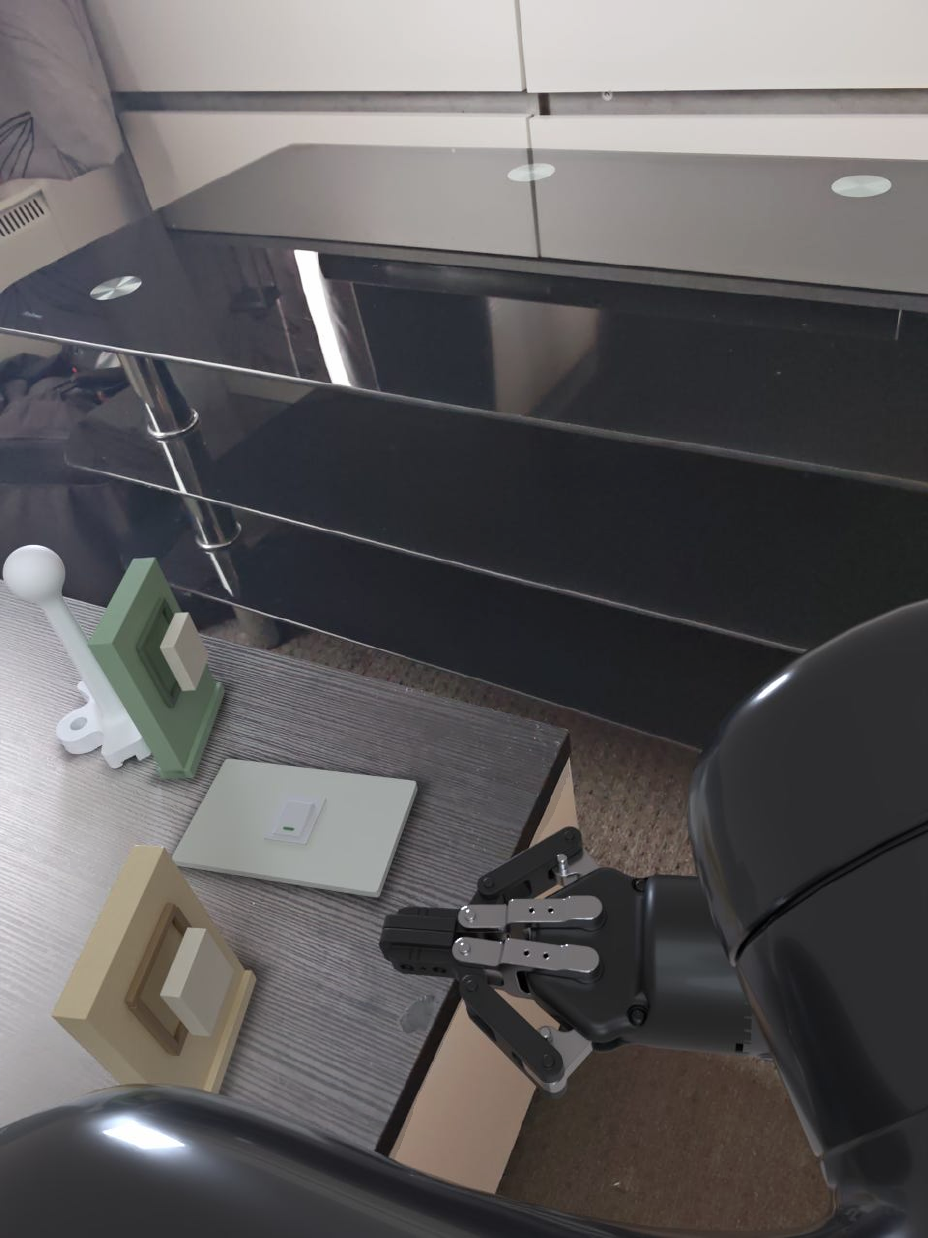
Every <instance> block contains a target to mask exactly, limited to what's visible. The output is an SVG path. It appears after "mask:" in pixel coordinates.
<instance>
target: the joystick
mask: <svg viewBox="0 0 928 1238" xmlns="http://www.w3.org/2000/svg"><path fill="white" fill-rule="evenodd" d="M2 579H3V582H4V584H5V587H6V588H7V590H8V591H9V592H10V593H11V595H14V596H15V597H16V598H18V599H20V600H23V601H25V602H30V603H32V604H35V605H36V606H38V607H39V609H40V610H41V611H42V613H43V614H44V616H45V618H46V619H47V621H48V623H49V625H50V626H51V628H52V630H53V632H54V633H55V635H56V637H57V639H58V640H59V642H60V643H61V645H62V647H63V649H64V651H65V652H66V655H67V656H68V657H69V659H70V661H71V663H72V665H73V666H74V668H75V670H76V671H77V673H78V675H79V676H80V678H81V680H80V681H79V682H78V683H77V685H76V688H77V689H78V691H79V693H80V694H81V696H82V697H83V699H84V701H85V702H86V704H85V705H83V706H82V707H81V706H80V707H79V708H76V709H73V710H71V711H69V712H68V713H67V714H66V715H64V717H62V718H61V719H60V720H59V722H58V724H57V725H56V729H55V735H56V737H57V738H58V739H59V741H60V743H61V744H62V746H63V747H64V748H65V750H66V751H67V752H68V753H70V754H73V755H82V754H87V753H90V752H92V751H94V750H96V749H98V747H100V746H101V749H100V750H101V751H100V753H101V755H102V756H103V758H104V760H105V761H106V763H107V765H109V767H110V768H111V769H118V768H120V767H123V765H124V761H126V760H128V759H130V758H132V757H134V756H136V758H137V760H138V762H139V761H142V760H144V759H145V758H147V757H149V756H151V754H152V753H151V751H150V749H149V748H148V746H147V744H146V743H145V741H144V739H143V738H142V736H141V734H140V733H139V731H138V729H137V728H136V726H135V724H134V723H133V721H132V719H131V718H130V716H129V714H128V713H127V711H126V709H125V708H124V706H123V704H122V703H121V701H120V699H119V698H118V696H117V694H116V693H115V691H114V689H113V687H112V686H111V684H110V682H109V681H108V679H107V677H106V676H105V674H104V672H103V671H102V669H101V667H100V666H99V664H98V662H97V661H96V659H95V657H94V656H93V654H92V652H91V651H90V649H89V647H88V646H87V644H88V642H89V640H90V638H89V636H88V634H87V633H86V631H85V630H84V628H83V626H82V625H81V623H80V622H79V620H78V618H77V617H76V615H75V614H74V612H73V610H72V609H71V607H70V606H69V604H68V603H67V601H66V599H65V598H64V596H63V591H62V590H63V586H64V584H65V580H66V568H65V564H64V562H63V560H62V558H60V556H59V555H58V554H57V553H56V552H55V551H53V550H52V549H51V548H49V547H46V546H43V545H38V544H29V545H24V546H21V547H19V548H17V549H15V550H14V551H13V552H11V553H10V554H9V555H8V557H7V558H6V559H5V562H4V564H3V566H2Z"/></svg>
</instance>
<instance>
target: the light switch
mask: <svg viewBox="0 0 928 1238" xmlns="http://www.w3.org/2000/svg"><path fill="white" fill-rule="evenodd" d="M418 790H419V789H418V784H417V782H416V780H411V779H402V778H396V777H395V778H394V777H386V776H379V775H370V774H362V773H354V772H343V771H336V770H328V769H321V768H320V769H319V768H311V767H303V766H294V765H285V764H278V763H270V762H260V761H253V760H245V759H244V760H243V759H237V758H226V759H225V760H224V761H223V763H222V764H221V767H220V769H219V770H218V772H217V774H216V776H215V778H214V780H213V781H212V783H211V784H210V786H209V789H208V790H207V792H206V793H205V796H204V798H203V799H202V801H201V803H200V805H199V806H198V808H197V810H196V812H195V814H194V816H193V817H192V818H191V821H190V823H189V824H188V826H187V828H186V830H185V832H184V833H183V835H182V837H181V839H180V841H179V843H178V844H177V847H176V848H175V849H174V851H173V853H172V855H171V857H172V859H173V861H174V862H175V864H176V865H177V867H183V868H189V869H195V870H201V871H209V872H214V873H221V874H226V875H233V876H238V877H239V876H240V877H246V878H250V879H251V878H252V879H258V880H264V881H271V882H276V883H282V884H289V885H295V886H300V887H308V888H313V889H319V890H320V889H321V890H326V891H332V892H339V893H345V894H351V895H356V896H363V897H369V898H379V897H380V895H381V894H382V891H383V889H384V886H385V882H386V880H387V878H388V875H389V871H390V869H391V865H392V863H393V860H394V858H395V854H396V851H397V849H398V846H399V843H400V841H401V837H402V835H403V832H404V829H405V826H406V823H407V821H408V819H409V815H410V812H411V810H412V807H413V804H414V801H415V798H416V796H417V793H418Z"/></svg>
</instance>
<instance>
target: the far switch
mask: <svg viewBox="0 0 928 1238" xmlns="http://www.w3.org/2000/svg"><path fill="white" fill-rule="evenodd" d="M160 649H161V651H162V653H163V655H164V657H165V659H166V661H167V663H168V664H169V666H170V668H171V670H172V672H173V674H174V676H175V678H176V680H177V682H178V683H179V685H180V687H181V689H182V691H191V690H196V688H197V686H198V683H199V681H200V678H201V676H202V673H203V670H204V668H205V665H206V663H208V661H209V658H210V654H209V652H208V650H207V648H206V646H205V643H204V641H203V640H202V637H201V636H200V633H199V631H198V629H197V626H196V625H195V623H194V620H193V617H192V616H191V614H190V612H182V613H175V615H174V617H173V619H172V621H171V624H170V626H169V628H168V630H167V632H166V635H165V637H164V639H163V641H162V643H161V646H160Z"/></svg>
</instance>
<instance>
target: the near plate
mask: <svg viewBox="0 0 928 1238" xmlns="http://www.w3.org/2000/svg"><path fill="white" fill-rule="evenodd" d="M188 927H189V928H202V929H206V930H207V931H208V933H209V934H210V936H211V937H212V938H213V940H214V941H215V943H216V944H217V946H218V947H219V949H220V950H221V952H222V953H223V955H224V956H225V958H226V959H227V961H228V962H229V964H230V965H231V967H232V968H233V970H234V972H233V975H232V977H231V980H230V983H229V986H228V989H227V992H226V994H225V997H224V1000H223V1003H222V1006H221V1008H220V1011H219V1014H218V1017H217V1020H216V1023H215V1025H214V1028H213V1031H212V1034H211V1036H210V1037H209V1036H200V1035H192V1034H191V1033H190V1032H189V1030H188V1029H187V1028H186V1027H185V1025H184V1024H183V1023H182V1022H181V1021H180V1019H179V1018H178V1017H177V1016H176V1014H175V1013H174V1012H173V1011H172V1009H171V1008H170V1007H169V1006H168V1005H167V1003H166V1002H165V1001H164V1000H163V998H162V997H161V996H160V993H161V991H162V988H163V986H164V984H165V981H166V979H167V976H168V974H169V971H170V969H171V966H172V964H173V961H174V959H175V956H176V954H177V952H178V949H179V947H180V944H181V942H182V939H183V937H184V934H185V932H186V929H187V928H188ZM257 979H258V978H257V977H256V975H255V973H254V972H253V970H252V969H245V968H244V966H243V964H242V963H241V962H240V960H239V959H238V957H237V955H236V954H235V952H234V951H233V949H232V948H231V946H230V944H228V942H227V940H226V939H225V937H224V936H223V934H222V932H221V931H220V929H219V928H218V926H217V925H216V923H215V922H214V920H213V918H212V917H211V916H210V914H209V913H208V911H207V909H206V908H205V907H204V905H203V903H202V902H201V900H200V899H199V897H198V896H197V894H196V893H195V891H194V889H193V888H192V887H191V884H189V882H188V881H187V879H186V877H185V875H184V874H183V872H182V871H181V870H180V868H179V866H177V865H176V864H175V862H174V861H173V859H172V855H171V854H170V853H169V851H168V850H167V847H165V846H162V845H161V846H160V845H143V844H132V847H131V849H130V851H129V853H128V856H127V857H126V860H125V862H124V864H123V866H122V867H121V870H120V872H119V874H118V876H117V878H116V880H115V883H114V884H113V887H112V889H111V891H110V893H109V894H108V897H107V898H106V901H105V903H104V905H103V907H102V909H101V911H100V913H99V915H98V917H97V920H96V921H95V923H94V925H93V927H92V930H91V932H90V934H89V936H88V938H87V940H86V942H85V944H84V946H83V948H82V951H80V954H79V956H78V959H77V961H76V962H75V965H74V966H73V969H72V971H71V973H70V975H69V977H68V979H67V981H66V983H65V984H64V987H63V989H62V991H61V993H60V994H59V995H60V996H59V998H58V1000H57V1002H56V1003H55V1006H54V1008H53V1010H52V1012H51V1014H50V1016H51V1018H52V1019H53V1020H54V1021H55V1022H57V1024H58V1025H59V1026H60V1027H62V1029H64V1030H65V1031H66V1032H67V1033H68V1034H69V1035H70V1036H71V1037H72V1039H74V1040H75V1041H76V1042H77V1043H78V1044H79V1045H80V1046H81V1047H82V1048H83V1049H84V1050H85V1051H86V1052H87V1053H88V1054H89V1055H90V1057H92V1058H93V1059H94V1060H95V1062H97V1063H98V1064H99V1065H100V1066H101V1067H103V1069H104V1070H105V1071H106V1072H107V1073H108V1074H109V1075H110V1076H111V1077H112V1078H113V1079H114V1080H115V1081H116V1082H117V1083H119V1085H125V1084H172V1085H179V1086H186V1087H193V1088H197V1089H201V1090H205V1091H209V1092H213V1093H217V1094H220V1090H221V1087H222V1084H223V1081H224V1078H225V1076H226V1072H227V1069H228V1067H229V1064H230V1061H231V1057H232V1054H233V1051H234V1048H235V1045H236V1043H237V1039H238V1037H239V1033H240V1031H241V1027H242V1025H243V1021H244V1018H245V1015H246V1012H247V1010H248V1006H249V1004H250V1000H251V998H252V994H253V991H254V988H255V986H256V982H257Z"/></svg>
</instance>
